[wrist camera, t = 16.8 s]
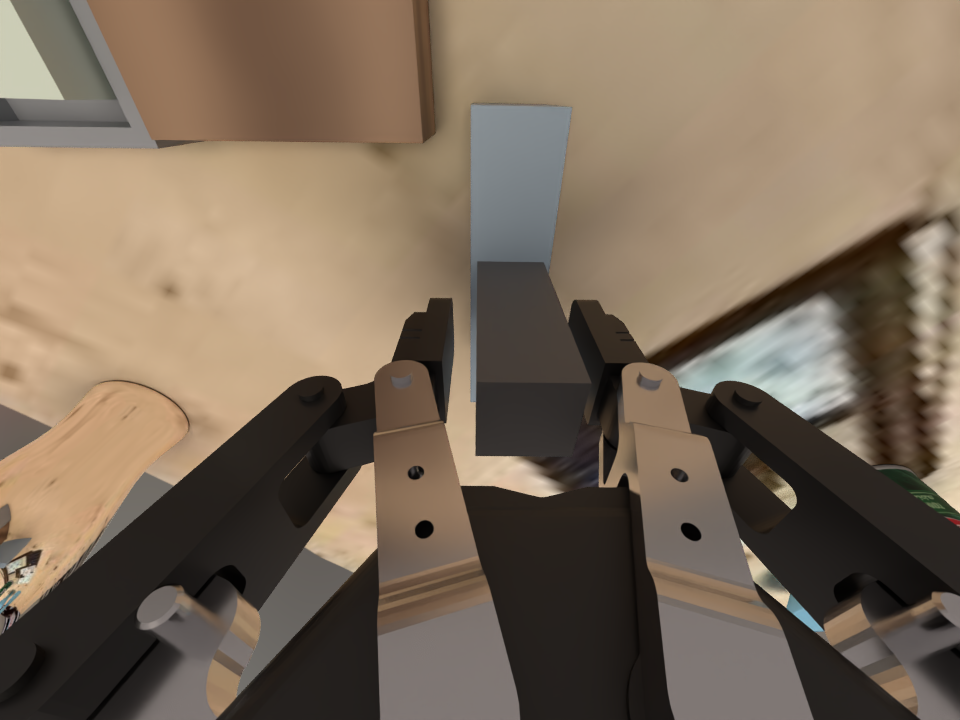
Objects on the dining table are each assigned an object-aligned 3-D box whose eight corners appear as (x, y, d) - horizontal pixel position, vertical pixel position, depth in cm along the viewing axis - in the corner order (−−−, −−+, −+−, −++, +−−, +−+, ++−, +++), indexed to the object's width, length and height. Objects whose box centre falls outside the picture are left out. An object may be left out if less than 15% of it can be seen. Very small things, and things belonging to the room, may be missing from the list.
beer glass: (185, 387, 24) (-122, 688, 12) (204, 451, 28) (-9, 724, 16) (66, 364, 22) (-411, 672, 10) (104, 435, 27) (-209, 715, 14)
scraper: (546, 104, 14) (681, 118, 5) (520, 346, 22) (555, 545, 12) (472, 102, 14) (462, 113, 5) (471, 345, 22) (466, 544, 12)
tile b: (-81, -165, 7) (-202, -169, 7) (64, 99, 10) (-24, 97, 10) (102, -80, 11) (21, -83, 11) (173, 99, 14) (109, 97, 14)
